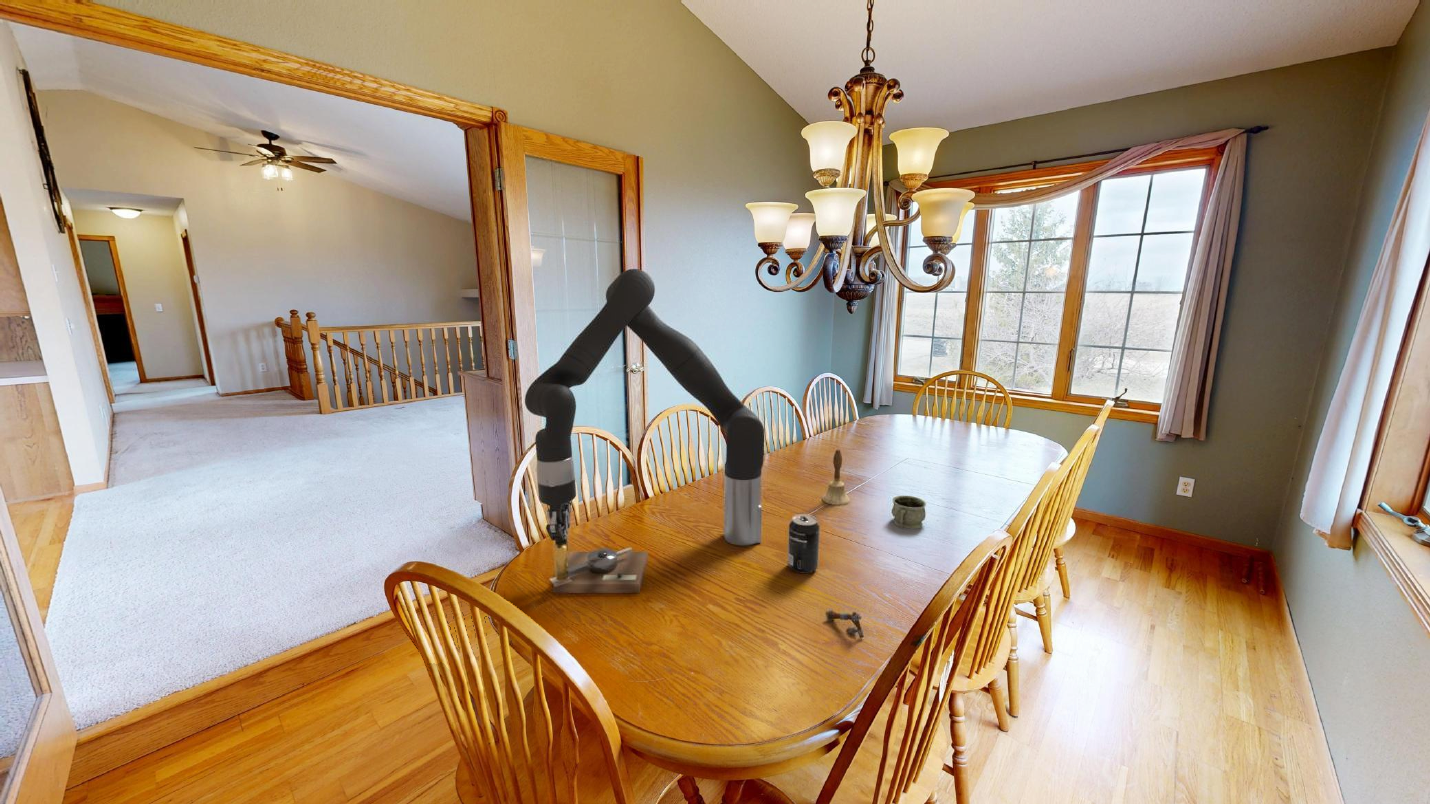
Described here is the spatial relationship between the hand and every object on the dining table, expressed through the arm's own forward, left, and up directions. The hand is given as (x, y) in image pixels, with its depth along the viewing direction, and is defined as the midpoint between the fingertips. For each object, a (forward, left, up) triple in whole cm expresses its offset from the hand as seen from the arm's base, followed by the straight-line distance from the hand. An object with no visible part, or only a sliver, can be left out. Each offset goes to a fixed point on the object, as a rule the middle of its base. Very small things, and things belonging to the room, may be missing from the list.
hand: (562, 553), depth 113 cm
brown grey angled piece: (-57, +16, -7) cm, 60 cm away
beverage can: (-53, -5, -7) cm, 54 cm away
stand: (-8, -2, -7) cm, 11 cm away
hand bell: (-70, -45, -7) cm, 84 cm away
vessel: (-86, -29, -7) cm, 91 cm away
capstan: (-7, -1, -4) cm, 8 cm away
